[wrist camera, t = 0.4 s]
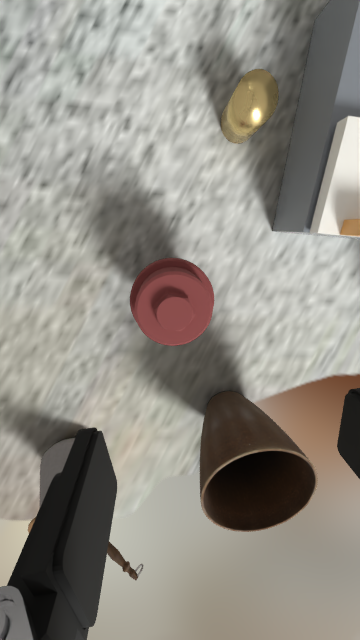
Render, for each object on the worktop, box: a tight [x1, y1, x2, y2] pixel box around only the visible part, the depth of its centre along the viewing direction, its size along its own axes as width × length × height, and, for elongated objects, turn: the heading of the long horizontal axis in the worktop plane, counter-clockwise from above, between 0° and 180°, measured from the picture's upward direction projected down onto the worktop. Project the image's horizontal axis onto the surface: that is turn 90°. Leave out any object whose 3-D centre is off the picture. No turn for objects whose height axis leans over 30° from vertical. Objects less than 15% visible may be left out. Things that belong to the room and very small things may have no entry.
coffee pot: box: [28, 437, 143, 580], centre depth 41 cm, size 21×12×15 cm, turn 50°
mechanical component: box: [130, 258, 214, 346], centre depth 31 cm, size 12×10×10 cm
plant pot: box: [200, 391, 318, 532], centre depth 38 cm, size 15×15×16 cm
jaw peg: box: [221, 69, 278, 144], centre depth 27 cm, size 4×4×6 cm
